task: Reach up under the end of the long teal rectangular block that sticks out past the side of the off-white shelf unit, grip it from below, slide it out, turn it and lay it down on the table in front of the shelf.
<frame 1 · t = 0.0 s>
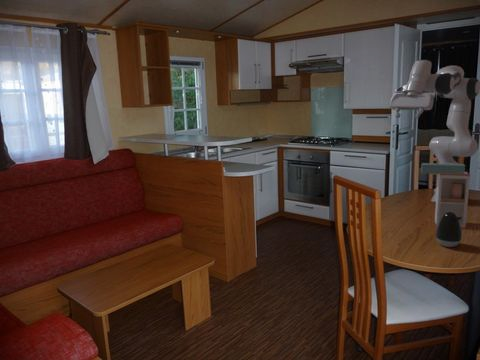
hand: (406, 117, 197), 54 cm above the table, tool tilted 30°, fingers open, 8 cm apart
long teal rectangular block: (442, 173, 204), point 26 cm above the table, touching shelf unit
shelf unit: (449, 223, 208), on the table
terracotta jar: (456, 199, 204), resting on shelf unit
black roly-poly toy: (448, 245, 182), on the table
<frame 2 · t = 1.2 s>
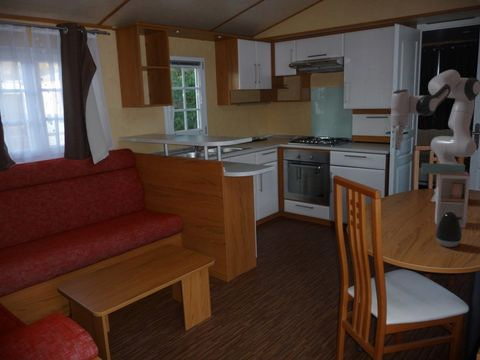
hand: (398, 148, 216), 37 cm above the table, tool pointing down, fingers open, 8 cm apart
nothing on the table moved.
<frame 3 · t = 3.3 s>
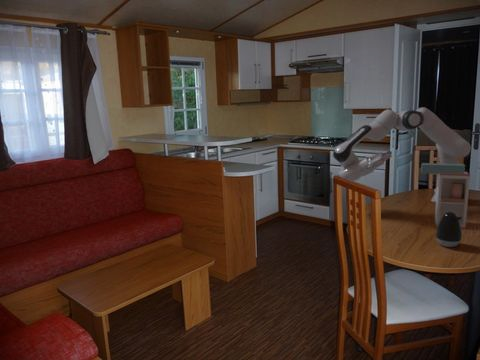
hand: (391, 153, 217), 34 cm above the table, tool pointing upward, fingers open, 8 cm apart
nothing on the table moved.
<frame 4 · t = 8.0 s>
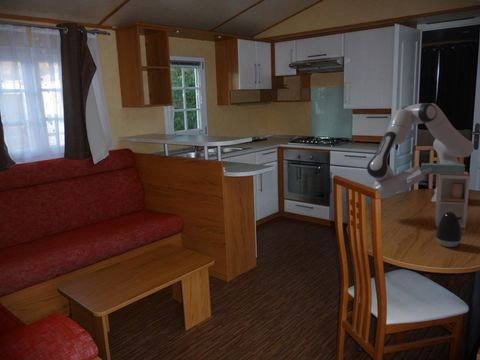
hand: (430, 167, 205), 29 cm above the table, tool pointing upward, fingers closed on long teal rectangular block, 4 cm apart
long teal rectangular block: (442, 173, 204), point 26 cm above the table, touching gripper, shelf unit
everything else where it was.
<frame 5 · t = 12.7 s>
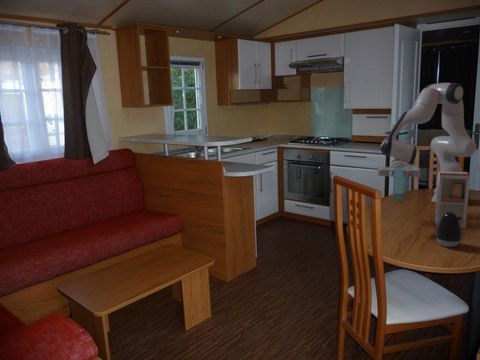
hand: (398, 175, 205), 26 cm above the table, tool horizontal, fingers closed on long teal rectangular block, 4 cm apart
long teal rectangular block: (398, 186, 202), point 21 cm above the table, tilted 30°, touching gripper
everything else where it was.
when the fingers open (7 cm above the table, at t = 16.2 s): long teal rectangular block drops 3 cm, on the table.
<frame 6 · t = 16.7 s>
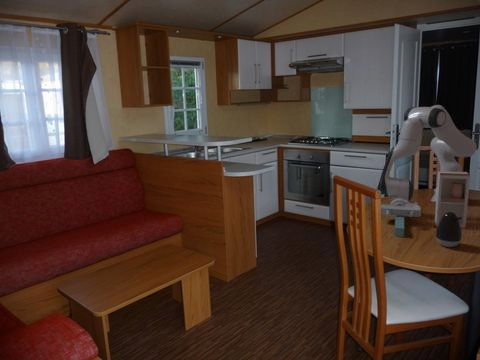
hand: (399, 215, 205), 7 cm above the table, tool horizontal, fingers open, 8 cm apart
long teal rectangular block: (399, 230, 203), on the table
everything else where it was.
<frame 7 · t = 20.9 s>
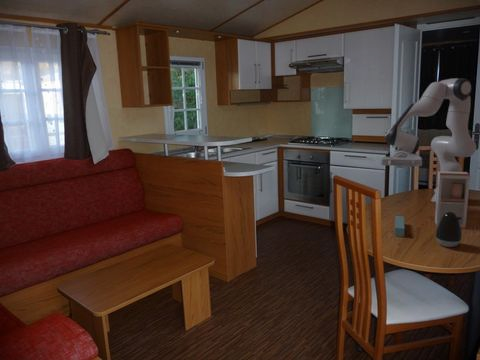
hand: (401, 164, 210), 30 cm above the table, tool horizontal, fingers open, 8 cm apart
nothing on the table moved.
at the end: long teal rectangular block inside the target area (3.3 cm from its centre), on the table; long teal rectangular block touching table; the gripper is holding nothing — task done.
